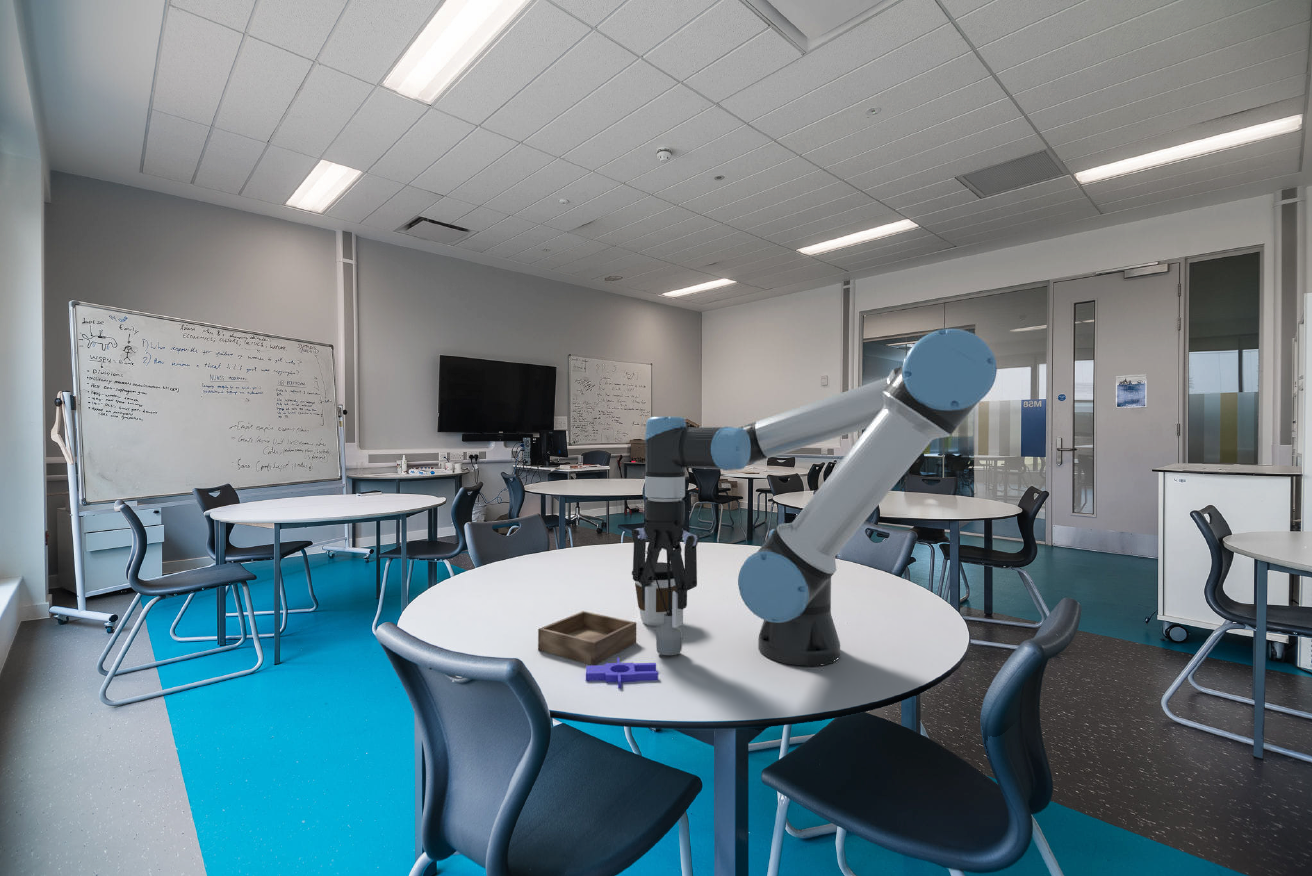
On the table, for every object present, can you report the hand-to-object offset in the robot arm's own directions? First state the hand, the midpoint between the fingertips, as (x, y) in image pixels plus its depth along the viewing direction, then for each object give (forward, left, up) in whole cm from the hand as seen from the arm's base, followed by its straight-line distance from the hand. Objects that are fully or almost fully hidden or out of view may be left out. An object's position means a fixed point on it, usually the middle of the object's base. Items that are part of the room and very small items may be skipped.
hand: (663, 622), depth 108 cm
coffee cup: (+11, -15, -6) cm, 20 cm away
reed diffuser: (0, 0, -6) cm, 6 cm away
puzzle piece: (+1, +12, -6) cm, 14 cm away
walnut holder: (+14, +5, -6) cm, 16 cm away
